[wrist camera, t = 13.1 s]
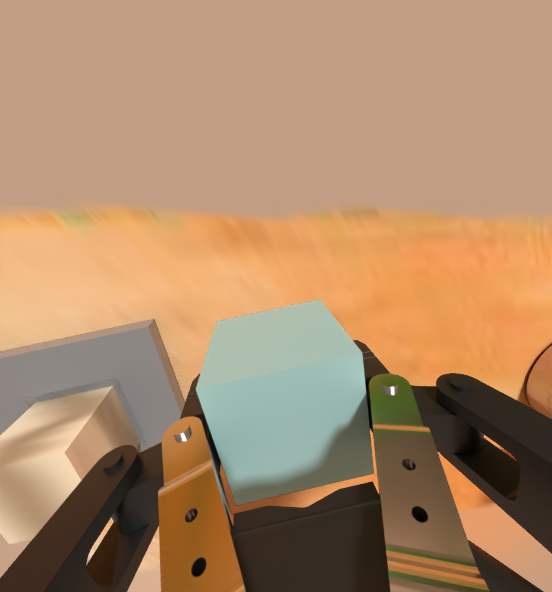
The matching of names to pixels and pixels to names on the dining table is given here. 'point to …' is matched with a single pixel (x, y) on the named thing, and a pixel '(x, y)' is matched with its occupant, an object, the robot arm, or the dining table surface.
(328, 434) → the block teal
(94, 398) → the block birch
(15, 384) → the plate
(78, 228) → the dining table surface
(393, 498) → the robot arm
